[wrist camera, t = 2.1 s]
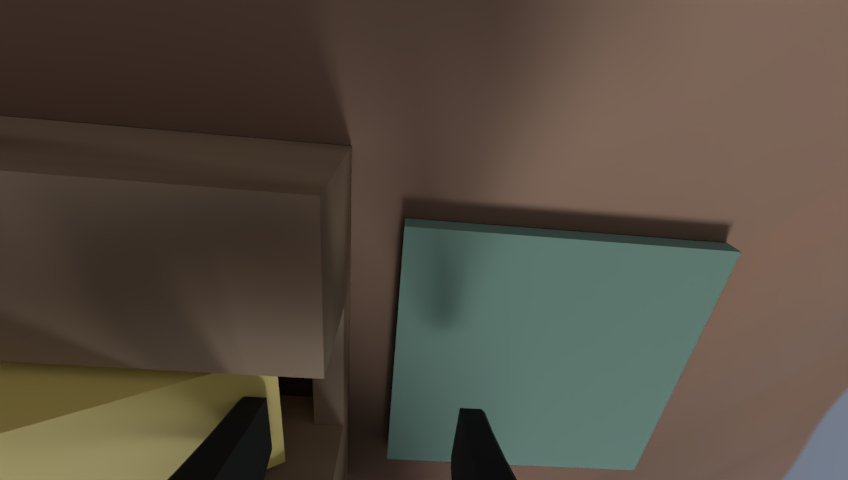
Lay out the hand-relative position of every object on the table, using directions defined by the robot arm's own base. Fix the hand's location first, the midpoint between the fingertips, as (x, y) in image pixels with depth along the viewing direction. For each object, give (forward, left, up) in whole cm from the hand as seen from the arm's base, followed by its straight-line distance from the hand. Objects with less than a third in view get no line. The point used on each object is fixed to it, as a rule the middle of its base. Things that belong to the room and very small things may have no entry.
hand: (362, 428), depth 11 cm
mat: (0, -6, -3) cm, 7 cm away
